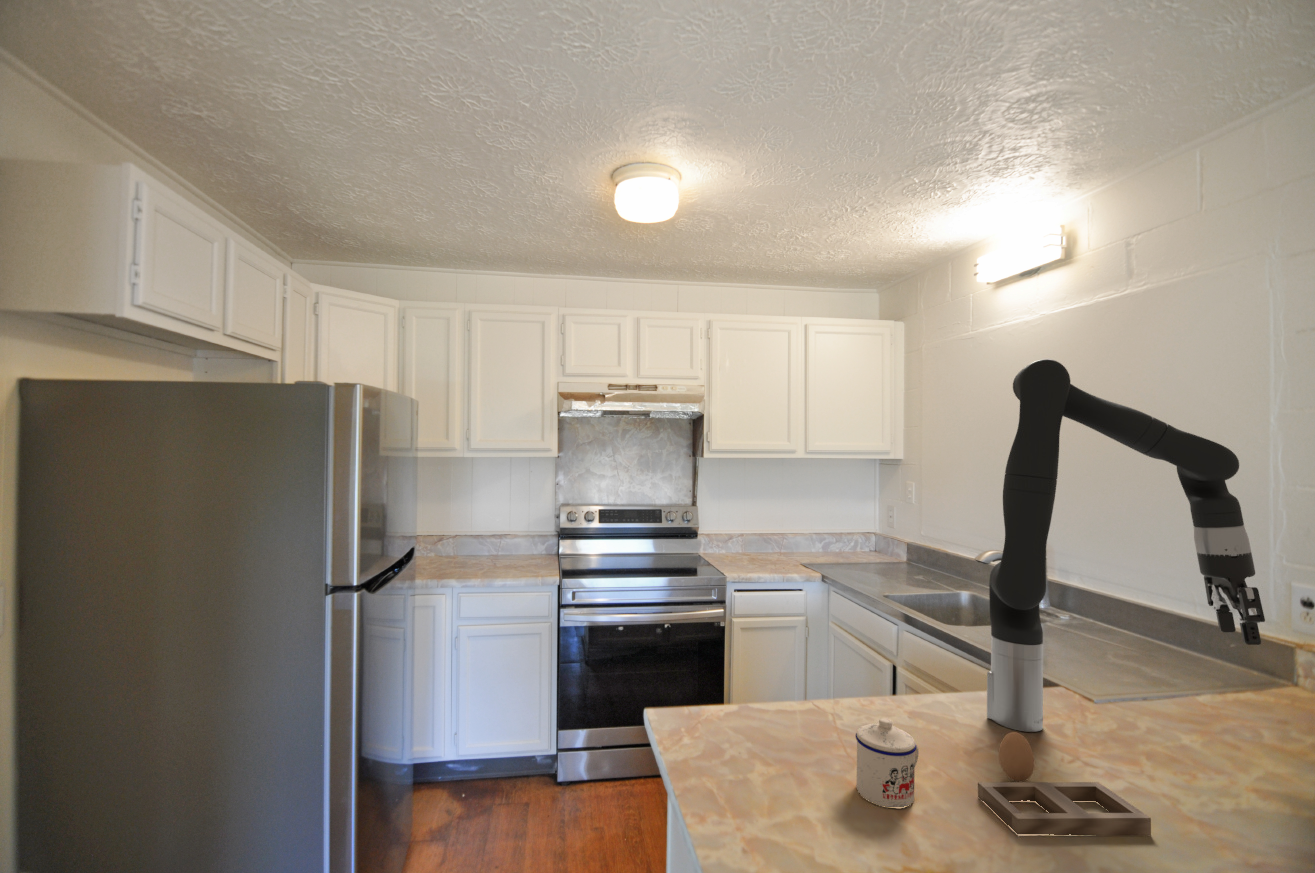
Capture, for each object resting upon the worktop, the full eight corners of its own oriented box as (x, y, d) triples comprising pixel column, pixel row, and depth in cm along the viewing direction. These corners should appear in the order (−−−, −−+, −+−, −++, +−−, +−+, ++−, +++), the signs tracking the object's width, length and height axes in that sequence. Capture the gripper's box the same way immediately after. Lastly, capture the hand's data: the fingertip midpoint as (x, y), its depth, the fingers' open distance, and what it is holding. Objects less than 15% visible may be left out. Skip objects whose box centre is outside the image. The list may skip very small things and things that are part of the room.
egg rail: (1017, 836, 84) (1017, 818, 84) (977, 798, 93) (978, 782, 93) (1151, 835, 85) (1150, 817, 85) (1098, 797, 94) (1098, 781, 95)
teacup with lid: (888, 817, 88) (889, 737, 88) (842, 786, 96) (843, 714, 96) (940, 797, 93) (941, 722, 94) (893, 770, 101) (894, 701, 102)
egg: (1042, 786, 97) (1042, 737, 98) (1017, 790, 96) (1017, 741, 96) (1015, 770, 102) (1015, 724, 103) (991, 774, 101) (991, 727, 101)
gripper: (1181, 546, 119) (1196, 628, 117) (1216, 556, 106) (1234, 648, 104) (1228, 544, 116) (1245, 627, 114) (1271, 554, 103) (1290, 648, 101)
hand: (1239, 637), depth 109 cm, fingers open, 8 cm apart
